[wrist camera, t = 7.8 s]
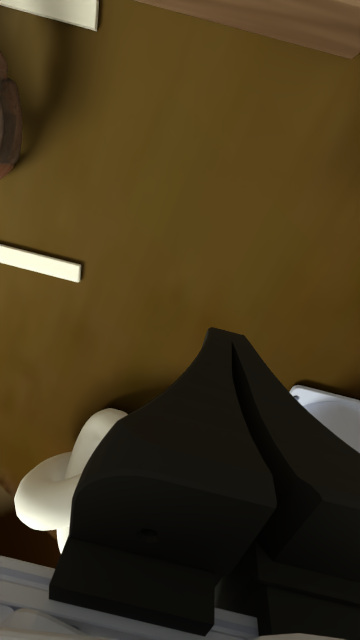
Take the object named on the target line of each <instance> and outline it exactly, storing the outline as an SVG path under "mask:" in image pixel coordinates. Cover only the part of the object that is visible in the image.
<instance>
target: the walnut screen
mask: <svg viewBox="0 0 360 640" xmlns="http://www.w3.org/2000/svg"><path fill="white" fill-rule="evenodd" d="M134 1H138V2H142V3H146V4H149V5H153V6H157V7H160V8H164V9H168V10H171V11H175V12H179V13H182V14H186V15H190V16H194V17H197V18H201V19H205V20H208V21H212V22H216V23H219V24H223V25H227V26H230V27H234V28H238V29H242V30H245V31H249V32H253V33H256V34H260V35H264V36H267V37H271V38H275V39H278V40H282V41H286V42H290V43H293V44H297V45H301V46H304V47H308V48H312V49H315V50H319V51H323V52H326V53H330V54H334V55H338V56H341V57H345V58H349V59H352V58H354V57H355V56H356V55H358V54H359V53H360V0H134Z"/></svg>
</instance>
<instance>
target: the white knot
mask: <svg viewBox="0 0 360 640" xmlns="http://www.w3.org/2000/svg"><path fill="white" fill-rule="evenodd" d="M126 415H128V414H127V413H125V412H124V411H121V410H117V409H112V408H108V409H104V410H101V411H99V412H97V413H95V414H94V415H92V416H91V417H90V418H89V419H88V421H87V422H86V423H85V425H84V426H83V428H82V430H81V432H80V434H79V436H78V438H77V440H76V443H75V445H74V448H73V451H72V452H67V453H62V454H59V455H56V456H53V457H51V458H49V459H46V460H45V461H43V462H41V463H40V464H38V465H37V466H36V467H35V468H34V469H32V470H31V471H30V472H29V473H28V474H27V475H26V476H25V477H24V478H23V479H22V481H21V482H20V485H19V487H18V490H17V492H16V495H15V498H14V501H15V507H16V513H17V516H18V517H19V519H20V520H21V521H22V522H24V523H25V524H26V525H27V526H29V527H31V528H33V529H36V530H54V529H57V539H58V545H59V549H60V552H61V553H62V551H63V548H64V546H65V543H66V541H67V538H68V535H69V527H70V515H71V504H72V497H73V494H74V491H75V489H76V486H77V484H78V481H79V479H80V476H81V474H82V472H83V469H84V467H85V465H86V464H87V462H88V460H89V458H90V457H91V455H92V453H93V452H94V450H95V449H96V447H97V446H98V444H99V443H100V442H101V440H102V439H103V438H104V436H105V435H106V434H107V433H108V431H109V430H110V429H111V428H112V426H113V425H114V424H115V423H116V422H117V420H119V419H121V418H123V417H125V416H126Z"/></svg>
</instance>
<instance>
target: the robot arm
mask: <svg viewBox="0 0 360 640" xmlns="http://www.w3.org/2000/svg"><path fill="white" fill-rule="evenodd" d="M295 395H298V396H297V397H293V396H295ZM0 640H360V400H357V399H353V398H349V397H345V396H341V395H337V394H333V393H329V392H325V391H321V390H317V389H313V388H309V387H305V386H301V385H296V386H294V387H292V389H291V390H290V392H288V390H287V389H286V388H285V387H284V386H283V385H282V384H281V382H280V381H279V380H278V379H277V378H276V377H275V375H274V374H273V373H272V372H271V370H270V369H269V368H268V367H267V365H266V364H265V363H264V361H263V360H262V359H261V357H260V356H259V355H258V353H257V352H256V351H255V349H254V348H253V346H252V345H251V344H250V342H249V341H248V340H247V338H246V337H245V336H244V335H240V334H237V333H233V332H229V331H225V330H221V329H217V328H213V327H211V328H209V329H208V331H207V334H206V337H205V340H204V343H203V346H202V349H201V351H200V352H199V354H198V355H197V357H196V358H195V359H194V361H193V362H192V364H191V365H190V366H189V367H188V368H187V370H186V371H185V372H184V373H183V374H182V375H181V376H180V377H179V378H178V379H177V380H176V381H175V382H174V383H173V384H172V385H171V386H170V387H168V388H167V389H166V390H165V391H164V392H162V393H161V394H160V395H158V396H157V397H155V398H154V399H153V400H151V401H150V402H148V403H147V404H146V405H144V406H142V407H141V408H139V409H137V410H136V411H134V412H132V413H130V414H128V415H126V416H125V417H123V418H121V419H119V420H117V422H116V423H115V424H114V425H113V426H112V428H111V429H110V430H109V431H108V433H107V434H106V435H105V436H104V438H103V439H102V440H101V442H100V443H99V444H98V446H97V447H96V449H95V450H94V452H93V453H92V455H91V457H90V458H89V460H88V462H87V464H86V465H85V467H84V469H83V472H82V474H81V476H80V479H79V481H78V484H77V486H76V489H75V491H74V494H73V497H72V504H71V515H70V527H69V535H68V538H67V541H66V543H65V546H64V548H63V551H62V553H61V556H60V558H59V561H58V563H57V566H56V569H53V568H49V567H45V566H40V565H37V564H32V563H28V562H24V561H20V560H16V559H12V558H7V557H4V556H0Z"/></svg>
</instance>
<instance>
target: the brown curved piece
mask: <svg viewBox="0 0 360 640" xmlns="http://www.w3.org/2000/svg"><path fill="white" fill-rule="evenodd" d="M7 70H8V65H7V62H6V60H5V58H4V56H3V55H2V53H1V51H0V179H1V178H3V177H4V176H5V175H7V174H8V173H9V172H10V171H11V170H12V169H13V168H14V164H15V163H16V162H17V160H18V159H19V155H20V149H21V140H22V112H21V106H20V100H19V93H18V89H17V86H16V83H15V82H14V81H13V80H11V79H9V78H7Z"/></svg>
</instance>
